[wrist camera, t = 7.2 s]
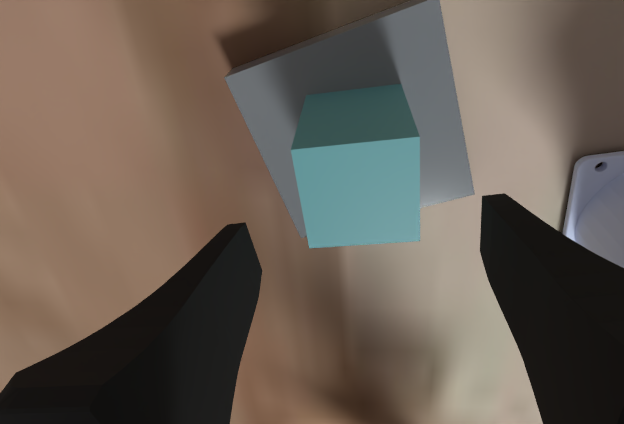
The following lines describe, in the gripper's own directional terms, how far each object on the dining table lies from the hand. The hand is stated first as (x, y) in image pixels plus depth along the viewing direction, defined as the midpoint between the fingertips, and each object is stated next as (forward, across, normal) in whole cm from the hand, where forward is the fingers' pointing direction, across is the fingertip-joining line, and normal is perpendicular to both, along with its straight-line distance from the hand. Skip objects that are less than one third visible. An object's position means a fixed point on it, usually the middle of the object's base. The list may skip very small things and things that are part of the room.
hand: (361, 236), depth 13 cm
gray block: (+9, 0, 0) cm, 9 cm away
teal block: (+7, 0, 0) cm, 7 cm away
